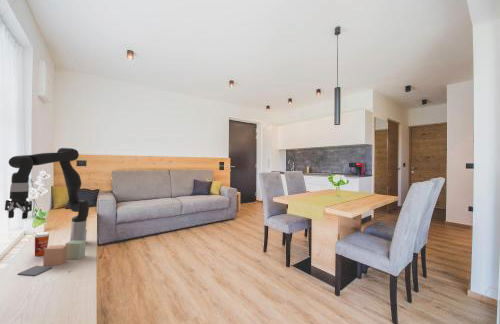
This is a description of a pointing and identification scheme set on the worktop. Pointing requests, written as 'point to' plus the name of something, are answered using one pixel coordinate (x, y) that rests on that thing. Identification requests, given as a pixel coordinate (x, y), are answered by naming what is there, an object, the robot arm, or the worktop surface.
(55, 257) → the salmon orange block
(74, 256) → the sage green block
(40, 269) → the felt coaster
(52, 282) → the worktop surface
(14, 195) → the robot arm
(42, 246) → the paper cup
